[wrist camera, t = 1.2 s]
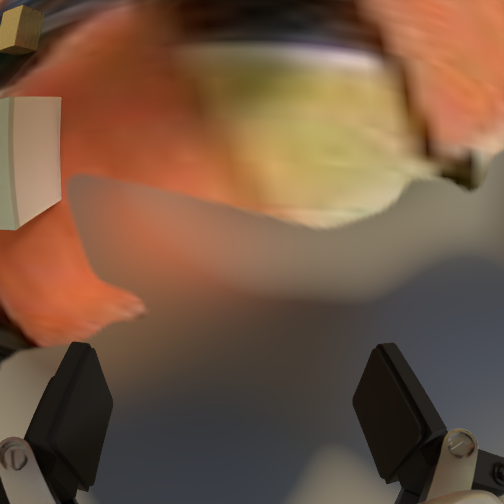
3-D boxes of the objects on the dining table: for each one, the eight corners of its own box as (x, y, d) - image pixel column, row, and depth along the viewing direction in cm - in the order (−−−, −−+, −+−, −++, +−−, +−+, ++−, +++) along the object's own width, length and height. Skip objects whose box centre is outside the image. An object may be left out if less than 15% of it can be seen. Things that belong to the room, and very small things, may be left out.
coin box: (0, 108, 25) (-53, 115, 16) (61, 97, 26) (9, 96, 17) (3, 200, 30) (-45, 227, 21) (61, 199, 31) (15, 230, 22)
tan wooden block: (26, 19, 20) (3, 12, 16) (44, 13, 21) (23, 4, 16) (19, 55, 22) (-5, 51, 18) (37, 50, 23) (14, 45, 18)
